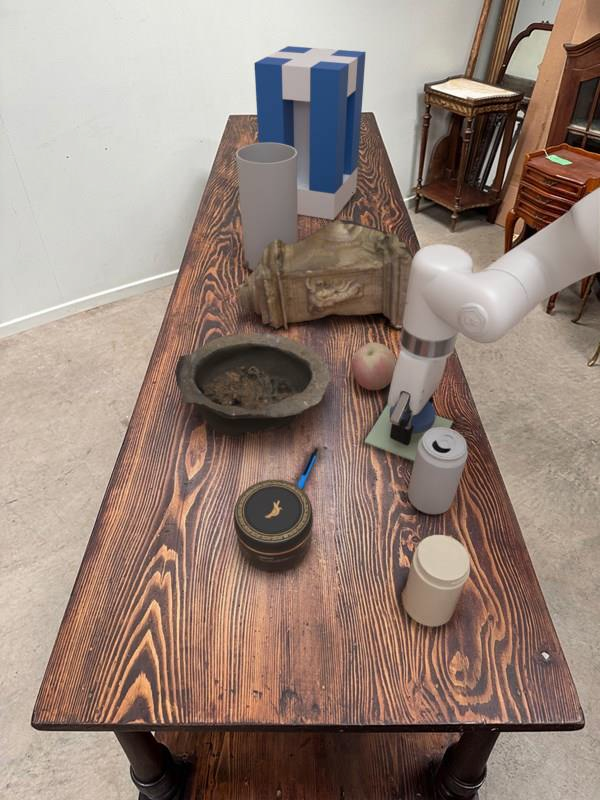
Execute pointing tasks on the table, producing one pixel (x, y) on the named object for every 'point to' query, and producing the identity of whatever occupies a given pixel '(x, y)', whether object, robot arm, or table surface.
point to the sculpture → (330, 276)
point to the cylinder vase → (267, 197)
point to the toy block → (314, 120)
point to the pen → (307, 469)
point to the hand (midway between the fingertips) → (410, 425)
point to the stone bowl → (251, 382)
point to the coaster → (383, 441)
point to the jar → (273, 525)
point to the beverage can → (437, 470)
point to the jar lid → (420, 418)
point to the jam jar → (436, 580)
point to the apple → (373, 366)
